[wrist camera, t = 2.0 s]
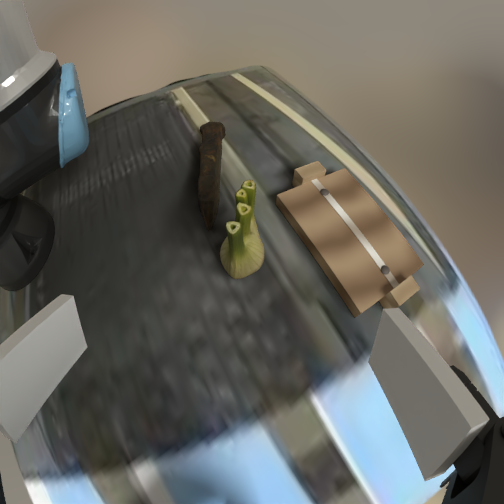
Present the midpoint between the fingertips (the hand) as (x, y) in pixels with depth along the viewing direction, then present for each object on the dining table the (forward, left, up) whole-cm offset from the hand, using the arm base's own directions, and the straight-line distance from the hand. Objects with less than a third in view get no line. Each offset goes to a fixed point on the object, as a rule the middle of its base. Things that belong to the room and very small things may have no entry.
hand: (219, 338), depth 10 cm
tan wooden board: (-7, +20, -19) cm, 29 cm away
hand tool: (-25, +9, -20) cm, 33 cm away
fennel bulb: (-11, +6, -19) cm, 23 cm away
